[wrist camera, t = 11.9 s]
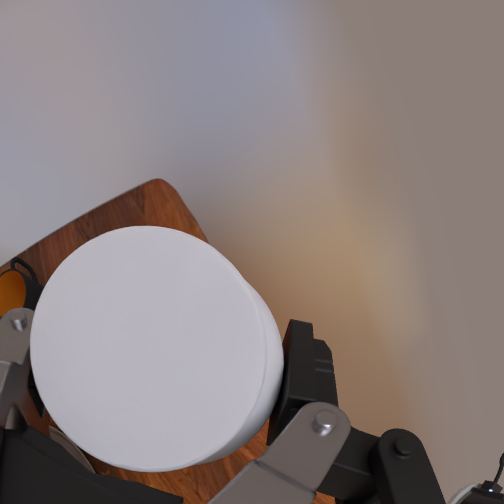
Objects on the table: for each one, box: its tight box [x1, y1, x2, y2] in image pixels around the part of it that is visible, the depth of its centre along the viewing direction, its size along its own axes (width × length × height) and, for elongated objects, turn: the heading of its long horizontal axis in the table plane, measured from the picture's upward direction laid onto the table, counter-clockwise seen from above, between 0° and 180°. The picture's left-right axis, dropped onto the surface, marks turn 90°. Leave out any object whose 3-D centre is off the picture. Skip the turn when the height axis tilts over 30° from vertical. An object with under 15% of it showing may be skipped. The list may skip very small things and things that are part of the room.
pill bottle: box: [30, 226, 284, 472], centre depth 10 cm, size 6×6×11 cm
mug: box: [0, 257, 44, 316], centre depth 35 cm, size 8×12×10 cm
